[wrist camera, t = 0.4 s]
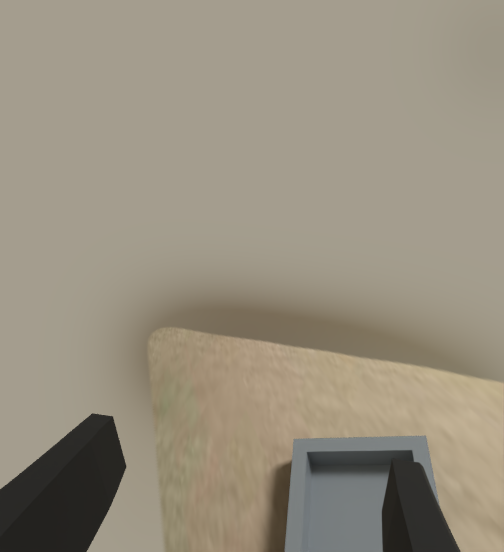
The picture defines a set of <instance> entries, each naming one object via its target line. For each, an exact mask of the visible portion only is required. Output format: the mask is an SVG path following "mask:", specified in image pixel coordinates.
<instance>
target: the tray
mask: <svg viewBox="0 0 504 552" xmlns="http://www.w3.org/2000/svg"><path fill="white" fill-rule="evenodd" d="M392 458H393V459H399V460H406V461H413V462H419V463H420V464H421V465H422V466H423V467H424V470H425V472H426V475H427V478H428V480H429V483H430V485H431V488H432V490H433V493H434V495H435V498H436V500H437V502H438V505H439V501H438V495H437V490H436V485H435V480H434V475H433V470H432V464H431V459H430V454H429V449H428V444H427V438H426V436H394V437H354V438H314V439H294V442H293V455H292V467H291V479H290V491H289V504H288V516H287V528H286V540H285V552H383V545H382V507H383V502H384V497H385V491H386V486H387V481H388V476H389V471H390V466H391V461H392ZM439 507H440V506H439Z"/></svg>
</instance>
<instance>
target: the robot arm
mask: <svg viewBox="0 0 504 552" xmlns="http://www.w3.org/2000/svg"><path fill="white" fill-rule="evenodd" d="M125 469H126V464H125V460H124V456H123V453H122V449H121V445H120V441H119V438H118V434H117V431H116V427H115V423H114V419H113V417H112V416H106V415H99V414H91V415H90V416H89V417H88V418H86V419H85V420H84V421H83V422H82V423H80V424H79V425H78V426H77V427H76V428H75V429H73V430H72V431H71V432H70V433H68V434H67V435H66V436H65V437H64V438H62V439H61V440H60V441H59V442H58V443H57V444H55V445H54V446H53V447H52V448H51V449H50V450H48V451H47V452H46V453H45V454H43V455H42V456H41V457H40V458H39V459H37V460H36V461H35V462H34V463H33V464H31V465H30V466H29V467H28V468H26V469H25V470H24V471H23V472H22V473H20V474H19V475H18V476H17V477H15V478H14V479H13V480H12V481H10V482H9V483H8V484H7V485H5V486H4V487H3V488H2V489H0V552H86V551H87V550H88V548H89V546H90V544H91V542H92V541H93V539H94V537H95V535H96V533H97V531H98V529H99V527H100V525H101V524H102V522H103V520H104V518H105V516H106V514H107V512H108V510H109V508H110V506H111V504H112V502H113V499H114V497H115V494H116V492H117V490H118V487H119V484H120V482H121V479H122V477H123V474H124V471H125ZM382 545H383V552H460V550H459V548H458V546H457V544H456V541H455V539H454V537H453V535H452V533H451V531H450V529H449V527H448V525H447V522H446V520H445V518H444V516H443V514H442V511H441V509H440V507H439V505H438V502H437V500H436V498H435V495H434V493H433V490H432V488H431V485H430V483H429V480H428V478H427V475H426V472H425V470H424V467H423V466H422V465H421V464H420V463H419V462H413V461H406V460H399V459H393V458H392V461H391V466H390V471H389V476H388V481H387V486H386V491H385V497H384V502H383V507H382Z"/></svg>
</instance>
